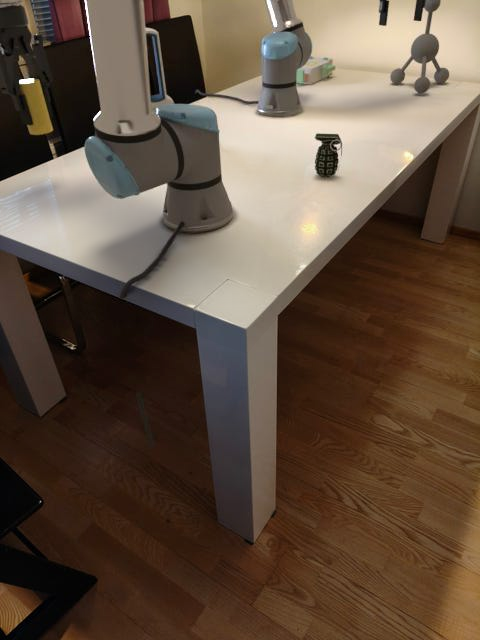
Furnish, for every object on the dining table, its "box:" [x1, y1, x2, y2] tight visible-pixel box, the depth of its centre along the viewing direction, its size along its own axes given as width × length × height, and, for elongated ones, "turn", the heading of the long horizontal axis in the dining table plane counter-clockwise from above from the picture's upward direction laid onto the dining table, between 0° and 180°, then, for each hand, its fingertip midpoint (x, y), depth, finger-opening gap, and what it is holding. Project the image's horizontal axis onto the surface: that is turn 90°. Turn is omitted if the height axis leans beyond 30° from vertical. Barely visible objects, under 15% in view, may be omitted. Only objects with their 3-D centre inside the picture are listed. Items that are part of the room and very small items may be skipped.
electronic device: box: [145, 27, 175, 113], centre depth 141 cm, size 12×8×30 cm, turn 105°
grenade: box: [314, 133, 343, 179], centre depth 119 cm, size 7×6×10 cm
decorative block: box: [296, 55, 336, 85], centre depth 206 cm, size 26×6×20 cm
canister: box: [20, 78, 54, 136], centre depth 114 cm, size 6×6×11 cm
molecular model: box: [390, 0, 450, 94], centre depth 178 cm, size 24×22×30 cm
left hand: (38, 120), depth 116 cm, fingers closed on canister, 5 cm apart
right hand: (400, 23), depth 153 cm, fingers open, 13 cm apart
